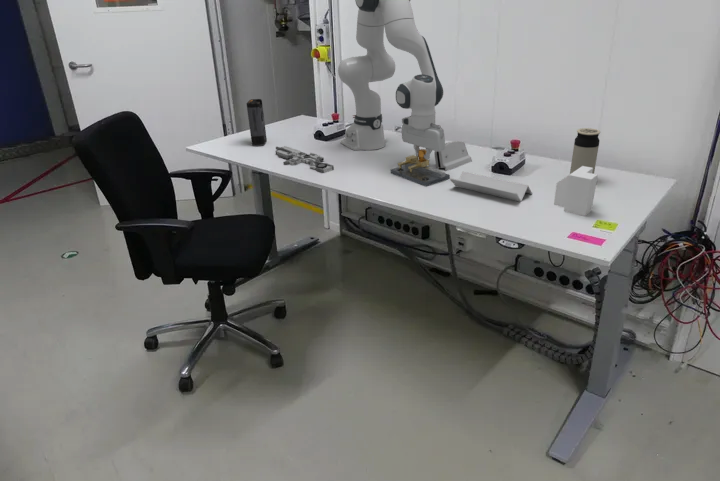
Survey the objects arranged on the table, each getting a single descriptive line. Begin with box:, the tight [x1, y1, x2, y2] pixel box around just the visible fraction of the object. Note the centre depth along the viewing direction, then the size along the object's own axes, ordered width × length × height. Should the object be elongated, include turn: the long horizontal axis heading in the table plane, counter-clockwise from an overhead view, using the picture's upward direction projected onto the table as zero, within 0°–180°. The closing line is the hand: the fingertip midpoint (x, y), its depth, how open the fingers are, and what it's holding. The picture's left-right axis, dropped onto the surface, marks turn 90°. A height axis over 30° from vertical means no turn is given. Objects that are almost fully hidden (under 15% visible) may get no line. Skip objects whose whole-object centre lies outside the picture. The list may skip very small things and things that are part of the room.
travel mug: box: [569, 127, 601, 175], centre depth 184 cm, size 8×8×18 cm
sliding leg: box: [408, 148, 430, 173], centre depth 197 cm, size 3×8×8 cm, turn 127°
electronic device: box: [246, 98, 268, 147], centre depth 243 cm, size 9×6×20 cm, turn 179°
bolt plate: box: [389, 154, 451, 187], centre depth 198 cm, size 20×12×5 cm, turn 37°
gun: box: [275, 145, 335, 174], centre depth 221 cm, size 41×3×15 cm
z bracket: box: [449, 171, 533, 203], centre depth 181 cm, size 12×25×6 cm
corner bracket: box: [553, 166, 599, 217], centre depth 165 cm, size 11×11×12 cm
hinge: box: [434, 140, 473, 172], centre depth 208 cm, size 17×5×10 cm, turn 132°
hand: (422, 157), depth 198 cm, fingers closed on sliding leg, 3 cm apart
